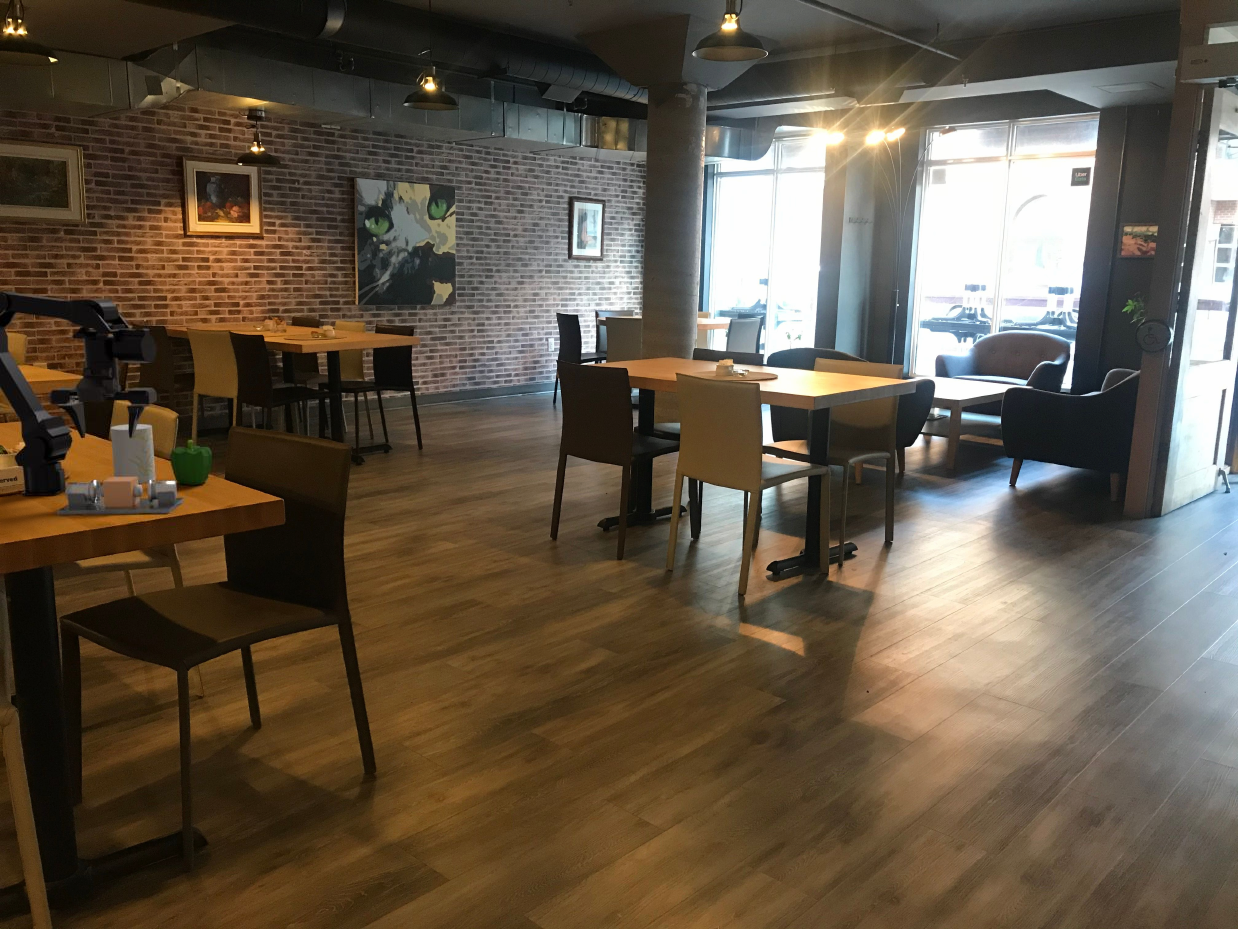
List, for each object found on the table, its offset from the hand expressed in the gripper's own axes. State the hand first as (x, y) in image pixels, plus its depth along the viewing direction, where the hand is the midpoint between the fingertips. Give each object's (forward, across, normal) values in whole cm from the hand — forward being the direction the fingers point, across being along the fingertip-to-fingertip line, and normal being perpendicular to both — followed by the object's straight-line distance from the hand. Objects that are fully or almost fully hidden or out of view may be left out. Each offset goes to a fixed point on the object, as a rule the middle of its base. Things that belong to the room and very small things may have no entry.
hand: (107, 437), depth 199 cm
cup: (+12, 0, +15) cm, 19 cm away
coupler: (+11, +6, -12) cm, 17 cm away
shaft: (+11, +13, -11) cm, 21 cm away
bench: (+12, +6, -12) cm, 18 cm away
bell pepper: (+12, +13, +11) cm, 21 cm away
